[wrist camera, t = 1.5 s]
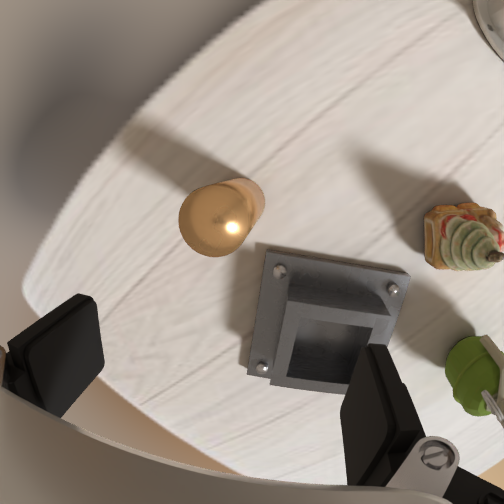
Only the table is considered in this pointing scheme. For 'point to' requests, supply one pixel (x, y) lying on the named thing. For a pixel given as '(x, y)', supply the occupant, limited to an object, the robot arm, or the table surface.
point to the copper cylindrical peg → (220, 216)
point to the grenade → (477, 376)
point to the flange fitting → (320, 319)
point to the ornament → (463, 237)
